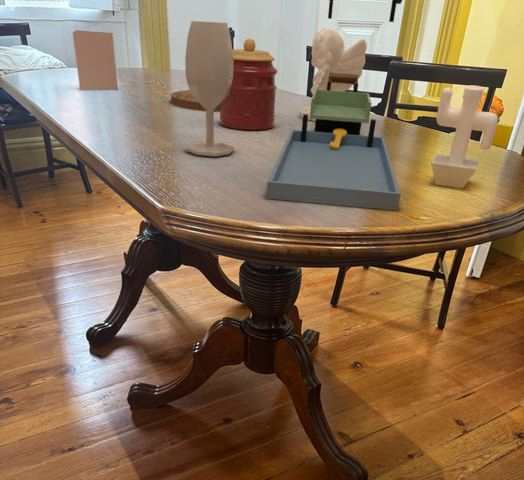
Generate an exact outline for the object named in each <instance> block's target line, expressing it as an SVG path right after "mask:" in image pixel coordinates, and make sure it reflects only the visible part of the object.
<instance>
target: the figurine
mask: <svg viewBox="0 0 524 480" xmlns="http://www.w3.org/2000/svg"><path fill="white" fill-rule="evenodd" d="M484 90H485V89H484V88H483V87H482V86H481V85H473V84H469V85H468V86H465V87H464V89H463V93H462V104H461V107H460V108H453V107H451V101H452V97H453V89H452V88H451V87H445V88H443V90H442V91H441V95H440V100H439V103H438V107H437V113H436V124H437V125H438V126H441V127H447V128H454V129H455V133H454V137H453V141H452V145H451V148H450V152H449V155H446V154H438V153H436V155H435V156H434V158H433V159H432V161H431V162H430V165H431V170H432V174H433V178H434V183H435V185H436V186H442V187H449V188H454V189H461V190H462V189H463V188H464V187H465V186H466V185H467V183H468V182H469V180H470V179H471V178H472V177H473V175H474V174H475V172H477V170H478V168H479V164H480V162H481V160H480V159H473V158H467V157H466V154H467V151H468V146H469V143H470V139H471V135H472V131H478V132H482V138H481V142H480V149H482V150H486V151H487V150H489V149H490V148H491V147H492V144H493V141H494V137H495V134H496V130H497V126H498V121H499V117H498V115H497V114H496V113H494V112H488V111H481V110H478V108H479V105H480V102H481V100H482V98H483V95H484Z"/></svg>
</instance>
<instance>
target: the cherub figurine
mask: <svg viewBox="0 0 524 480" xmlns="http://www.w3.org/2000/svg"><path fill="white" fill-rule="evenodd" d="M312 38H313V39H312V46H311V62H310V63H311V66H312V67H314V68H316V69H317V70H318V71H317V72H316V73H315V75H314V76H313V78H312V83H313V84H312V87H311V89H310V93H311V94H312V95H313V94H314V91H315V89H317V90H327V83H328V79H329V73H338V74H352V75H358V79H360V78H361V76H362V74H363V68H364V67H365V64H366V55H365V54H366V51H367V48H368V45H367V41H366V39H360V40H358V41H357V42H356V43H354V44H353V45H352V46H350V47H348V48H347V49H345V41H344V39H343V37H342V36H341V35H340V33H339V32H336V30H333V29H331V28H325V27H323V28H320V29H319V30H318V31H317V32H316V34H315V35H314V37H312ZM353 85H354V84H343V83H331V91H344V92H347V91H348V90H350V89H351V88H353ZM316 105H317V104H316ZM329 106H330V105H329ZM310 110H311V102H310V103H309V104H307V106H304V108H302V109H301V111H300V117H301V118H302V119H303V114H308V121H312V122H316V119H310Z"/></svg>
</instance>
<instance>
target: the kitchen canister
mask: <svg viewBox="0 0 524 480" xmlns="http://www.w3.org/2000/svg"><path fill="white" fill-rule="evenodd" d="M232 52H233V80H232V84H231V88H230V92H229V95H228V96H227V97H226V98H225V99H224V100H223V101H222V102H221V110H220V111H219V120H220V124H221V126H223V127H226V128H229V129H235V130H242V131H243V130H244V131H261V130H263V131H264V130H268V129H272V128H273V127H274V124H275V117H276V115H275V108H276V91H277V86H276V81H275V79H276V75H277V74H278V69H277V68H276V67H275V66H274V64H273V62H274V61H275V57H274V56H272V55H271V54H270V53H269V51H266V50H258V49H256V42H255V40H254V39H253V38H246V39H245V41H244V42H243V49H242V48H241V49H239V48H237V49H236V48H235V49H233V48H232Z"/></svg>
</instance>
